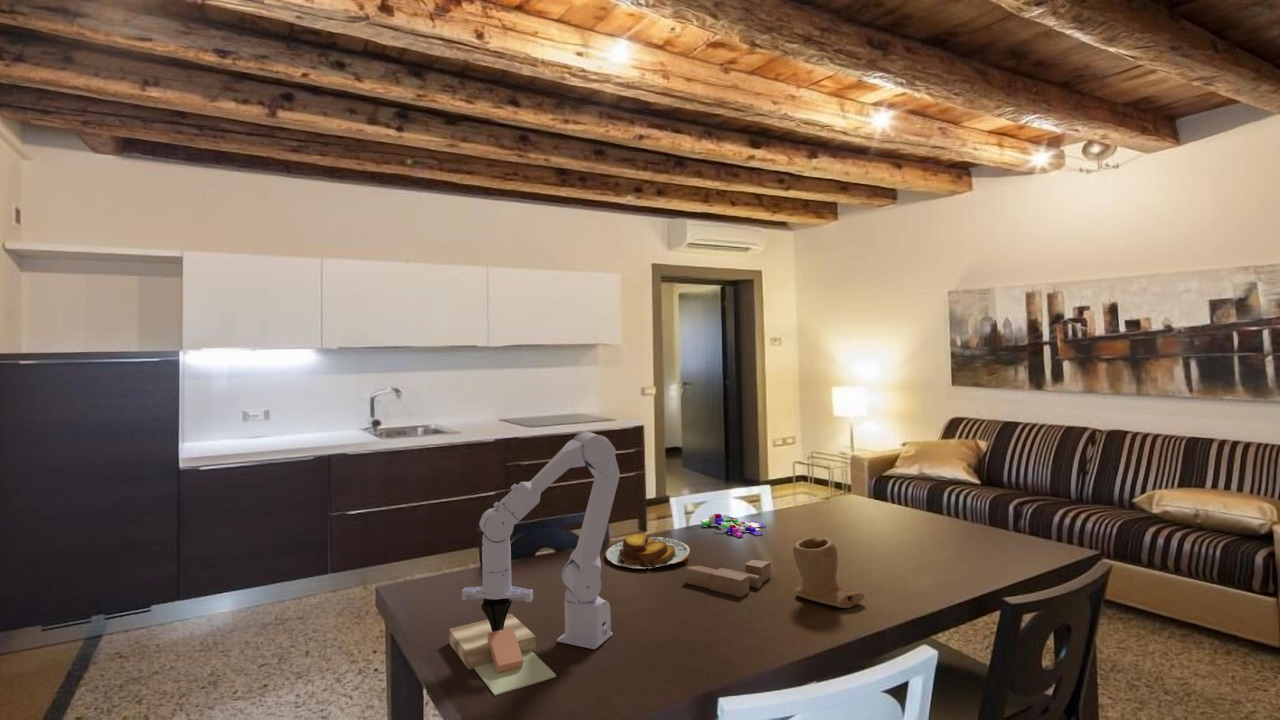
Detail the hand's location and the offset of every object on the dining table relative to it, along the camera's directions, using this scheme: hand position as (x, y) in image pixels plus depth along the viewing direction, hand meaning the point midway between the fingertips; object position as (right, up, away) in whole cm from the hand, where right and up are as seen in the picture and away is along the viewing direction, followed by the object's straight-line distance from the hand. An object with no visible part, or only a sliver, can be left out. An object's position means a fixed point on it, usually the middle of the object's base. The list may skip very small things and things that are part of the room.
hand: (498, 634), depth 128 cm
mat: (+5, -4, -8) cm, 10 cm away
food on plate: (+31, -4, +60) cm, 68 cm away
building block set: (+63, -4, +93) cm, 112 cm away
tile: (+2, -2, -4) cm, 5 cm away
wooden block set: (+53, -4, +40) cm, 67 cm away
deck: (-2, -4, +3) cm, 6 cm away
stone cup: (+74, -3, +25) cm, 78 cm away
